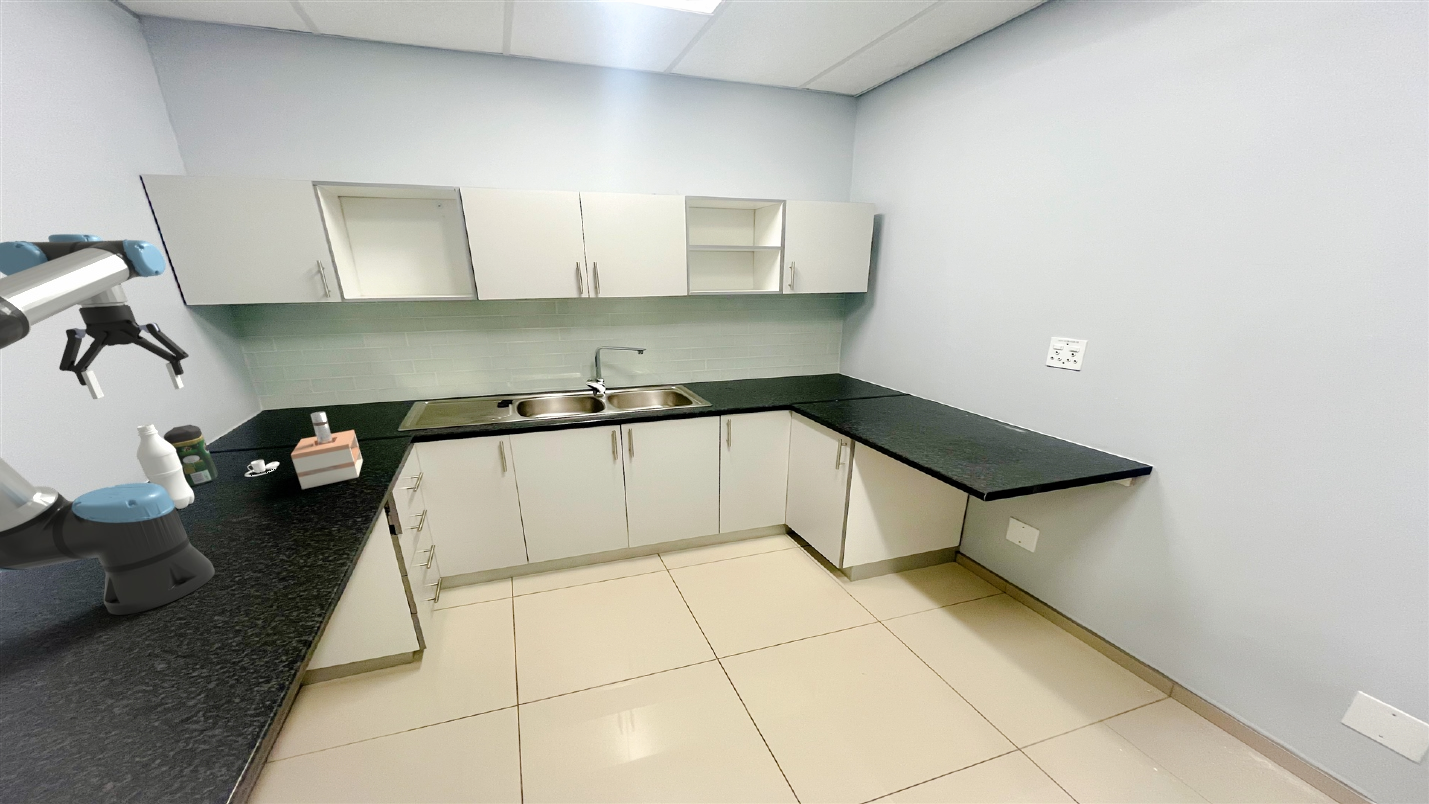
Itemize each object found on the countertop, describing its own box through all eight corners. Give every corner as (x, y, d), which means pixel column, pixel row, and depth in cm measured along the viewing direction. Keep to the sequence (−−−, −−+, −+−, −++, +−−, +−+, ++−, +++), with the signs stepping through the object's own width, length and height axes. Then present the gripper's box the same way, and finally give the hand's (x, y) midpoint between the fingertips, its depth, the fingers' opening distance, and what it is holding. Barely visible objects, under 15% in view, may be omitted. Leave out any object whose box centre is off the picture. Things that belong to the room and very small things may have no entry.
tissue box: (358, 477, 150) (348, 444, 146) (302, 489, 143) (290, 454, 139) (362, 460, 163) (354, 429, 159) (311, 471, 156) (301, 439, 152)
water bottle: (204, 500, 138) (172, 421, 131) (175, 513, 131) (139, 430, 124) (182, 500, 139) (150, 421, 131) (153, 512, 132) (116, 430, 125)
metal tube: (339, 471, 152) (324, 414, 146) (325, 474, 150) (309, 416, 144) (340, 467, 155) (326, 410, 149) (326, 470, 153) (311, 412, 147)
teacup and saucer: (280, 464, 163) (277, 454, 162) (279, 472, 157) (275, 460, 156) (246, 472, 158) (242, 461, 157) (243, 480, 152) (239, 468, 151)
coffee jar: (185, 480, 152) (163, 427, 147) (219, 472, 158) (199, 421, 152) (181, 490, 146) (158, 434, 140) (217, 481, 151) (196, 427, 145)
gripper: (186, 300, 117) (215, 381, 123) (30, 308, 105) (71, 398, 111) (173, 301, 111) (205, 387, 117) (6, 311, 99) (51, 406, 105)
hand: (140, 393), depth 114 cm, fingers open, 13 cm apart
